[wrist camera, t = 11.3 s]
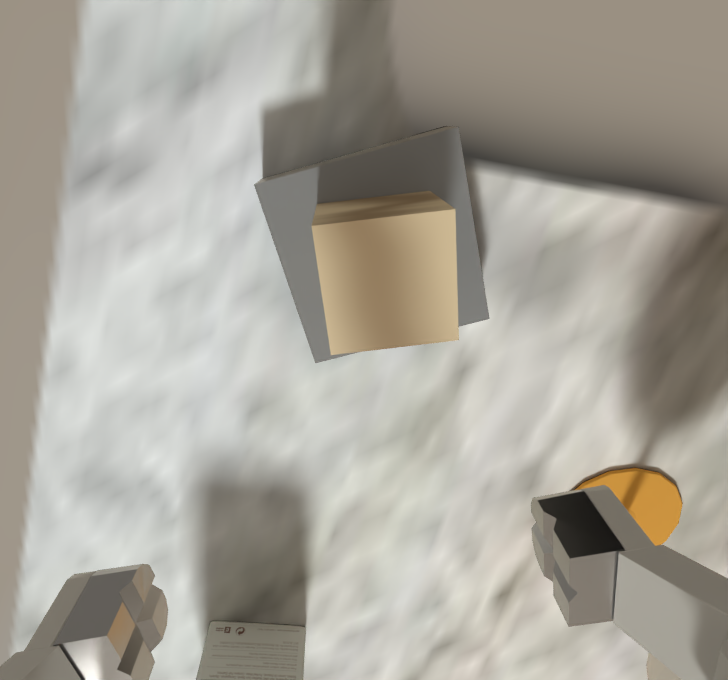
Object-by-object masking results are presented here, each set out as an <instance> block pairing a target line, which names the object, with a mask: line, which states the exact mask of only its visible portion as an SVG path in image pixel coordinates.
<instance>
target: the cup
mask: <svg viewBox="0 0 728 680" xmlns="http://www.w3.org/2000/svg"><path fill="white" fill-rule="evenodd" d="M601 485H606V486H607V487H609V488H610V489H611V490H612V492H613V493H614V494H615V495H616V497H617V498H618V499H619V500H620V502H621V503H622V504H623V506H624V507H625V508H626V509H627V511H628V512H629V513H630V514H631V516H632V517H633V518H634V520H635V521H636V522H637V523H638V525H639V526H640V527H641V528H642V530H643V531H644V532H645V534H646V535H647V536H648V537H649V539H650V540H651V541H652V542H653V544H654V545H655V546H657V545H661V544H663V543H664V542H665V541H666V540H667V539H668V537H669V536H670V534H671V533H672V531H673V530H674V529H675V527H676V526H677V524H678V523H679V518H680V514H681V509H682V504H683V503H682V500H681V498H680V495H679V492H678V489H677V487H676V485H675V484H673V483H672V482H671V481H669V480H668V479H667V478H665V477H664V476H663V475H662V474H660V473H659V472H654V471H649V470H644V469H639V468H630V469H622V470H615V471H608V472H606V473H604V474H601V475H599V476H597V477H595V478H592V479H590V480H588V481H586V482H583V483H582V484H581V485H580V486H579V487H578V488H576V489H575V490H580V489H584V488H590V487H595V486H601ZM646 666H647V675H648V680H682V679H681V678H680V677H678V676H677V675H676V674H675V673H674V672H672V671H671V670H670V669H669V668H667V667H666V666H665V665H664V664H663V663H661V662H660V661H659V660H658V659H656V658H655V657H654V656H653V655H652V654H650V653H649V654H648V659H647V664H646Z"/></svg>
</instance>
